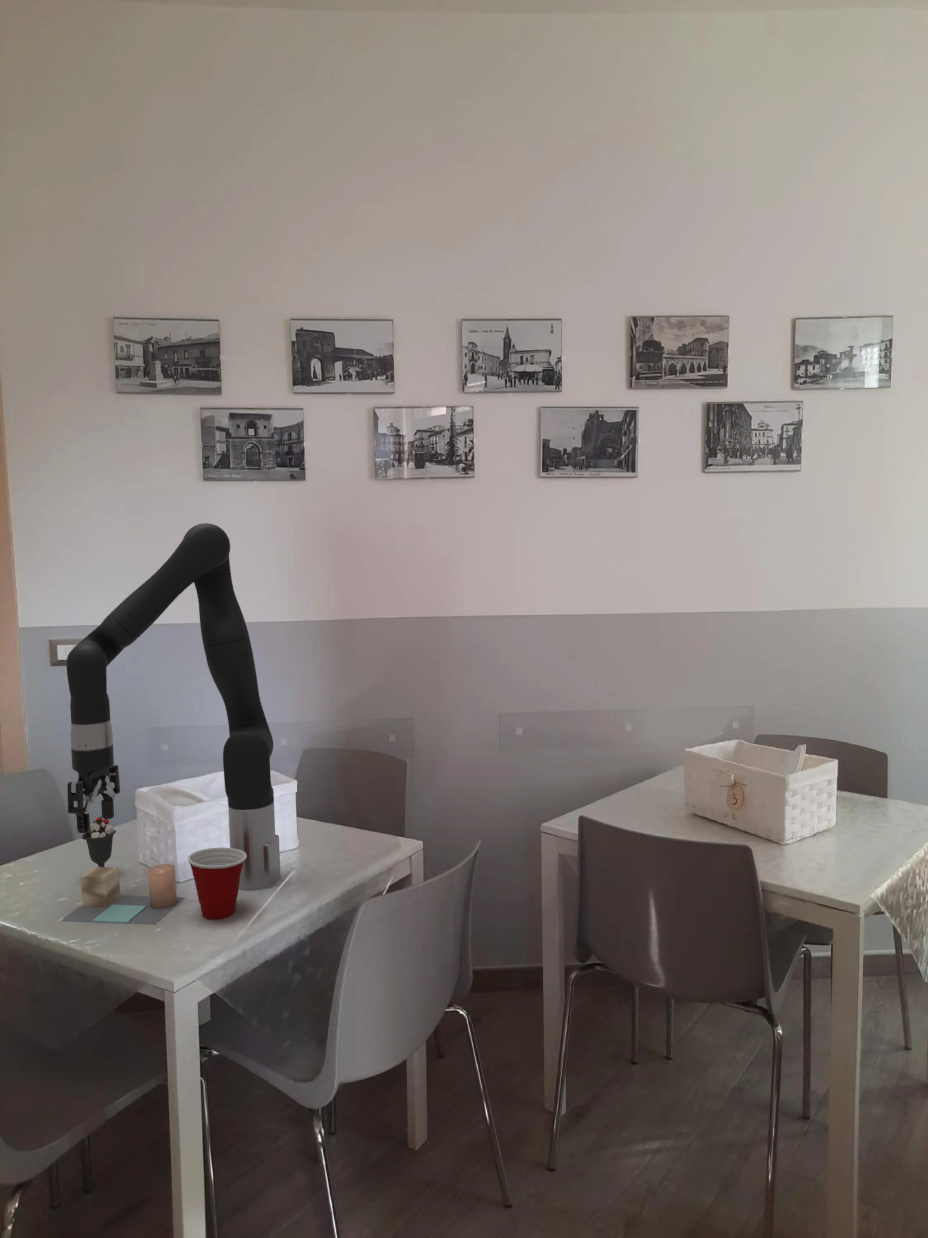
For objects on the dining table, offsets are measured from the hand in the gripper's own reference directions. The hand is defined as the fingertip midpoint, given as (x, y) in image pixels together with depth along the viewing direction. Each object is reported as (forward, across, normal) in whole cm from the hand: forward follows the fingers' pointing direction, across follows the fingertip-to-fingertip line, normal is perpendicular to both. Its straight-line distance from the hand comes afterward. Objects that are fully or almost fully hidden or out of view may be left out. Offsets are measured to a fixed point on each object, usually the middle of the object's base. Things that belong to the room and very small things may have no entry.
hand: (96, 825), depth 165 cm
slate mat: (+16, -3, -7) cm, 18 cm away
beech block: (+16, 0, 0) cm, 16 cm away
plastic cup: (+16, -3, -26) cm, 31 cm away
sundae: (+16, +12, +7) cm, 22 cm away
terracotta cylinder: (+15, 0, -13) cm, 20 cm away
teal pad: (+16, -5, -7) cm, 18 cm away
